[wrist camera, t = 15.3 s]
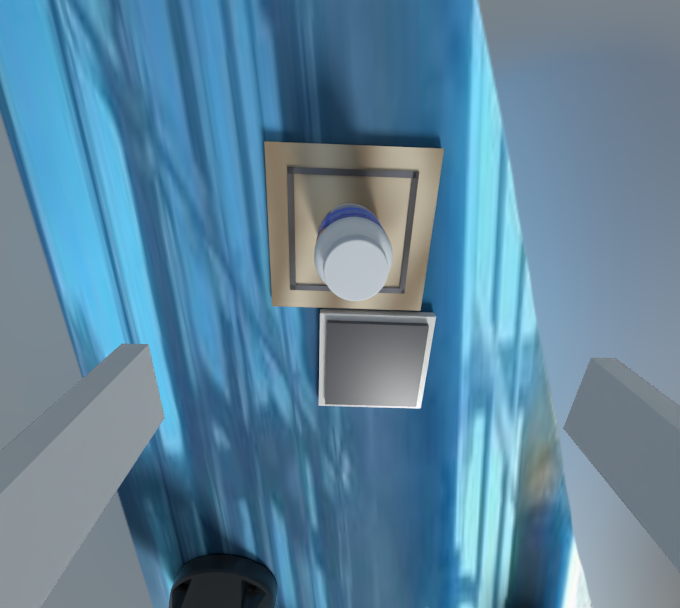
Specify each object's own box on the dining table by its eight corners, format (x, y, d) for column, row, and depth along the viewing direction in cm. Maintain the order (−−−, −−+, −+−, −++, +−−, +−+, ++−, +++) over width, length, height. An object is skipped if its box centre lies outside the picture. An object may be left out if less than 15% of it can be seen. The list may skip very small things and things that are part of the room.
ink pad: (319, 399, 38) (318, 409, 36) (320, 308, 33) (319, 316, 32) (418, 402, 38) (421, 412, 36) (433, 312, 33) (437, 319, 32)
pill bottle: (312, 209, 29) (300, 235, 20) (376, 196, 28) (393, 218, 19) (325, 270, 31) (319, 318, 22) (385, 259, 30) (404, 304, 22)
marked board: (273, 302, 33) (271, 306, 32) (266, 141, 27) (263, 141, 26) (418, 307, 33) (420, 311, 32) (441, 148, 27) (444, 148, 27)
